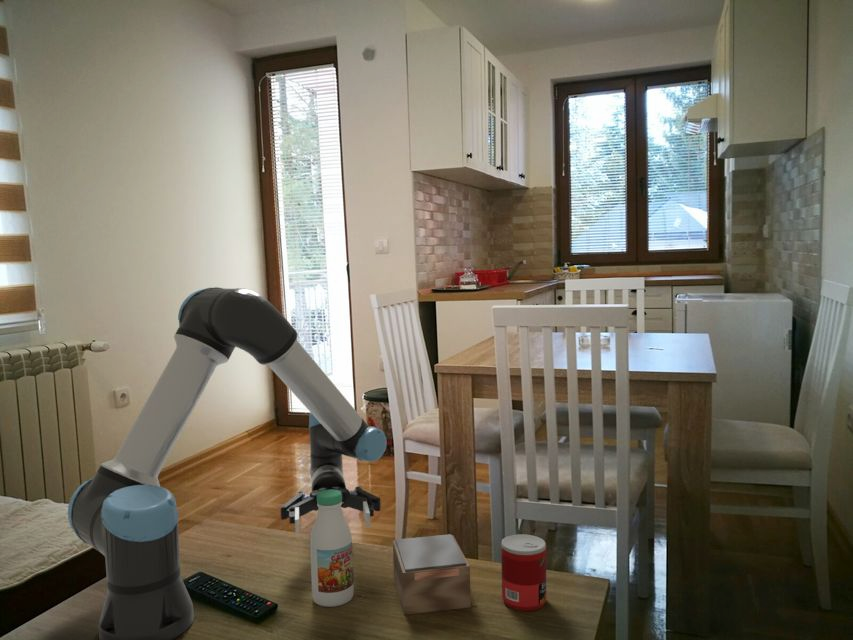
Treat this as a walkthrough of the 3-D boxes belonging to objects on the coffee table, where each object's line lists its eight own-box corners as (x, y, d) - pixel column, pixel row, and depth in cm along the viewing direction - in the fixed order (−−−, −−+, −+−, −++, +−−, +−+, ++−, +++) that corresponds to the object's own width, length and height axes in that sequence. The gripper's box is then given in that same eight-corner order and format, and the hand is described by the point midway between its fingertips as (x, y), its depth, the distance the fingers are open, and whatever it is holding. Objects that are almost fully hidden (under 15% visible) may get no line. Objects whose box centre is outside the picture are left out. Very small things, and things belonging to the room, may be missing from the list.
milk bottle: (304, 604, 122) (299, 497, 120) (325, 584, 129) (320, 484, 128) (342, 611, 120) (338, 502, 118) (361, 590, 127) (357, 487, 125)
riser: (404, 615, 117) (403, 571, 117) (393, 578, 131) (392, 538, 131) (470, 607, 120) (470, 564, 119) (453, 571, 134) (452, 532, 133)
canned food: (549, 611, 118) (549, 551, 117) (504, 612, 118) (503, 551, 117) (543, 590, 125) (542, 533, 124) (500, 590, 125) (499, 534, 124)
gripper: (384, 498, 153) (397, 535, 132) (272, 508, 148) (267, 548, 127) (383, 466, 152) (396, 498, 131) (270, 475, 148) (265, 509, 127)
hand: (333, 523), depth 129 cm, fingers open, 13 cm apart
